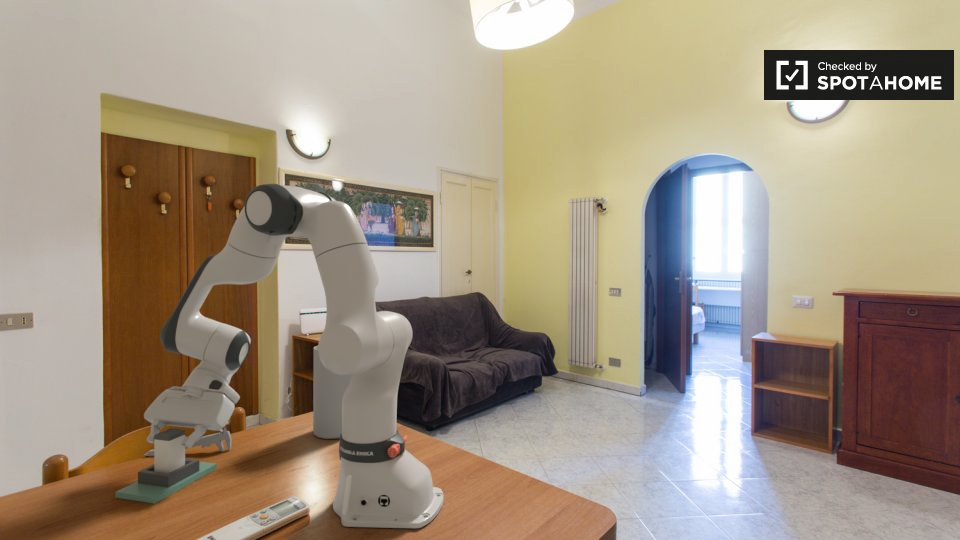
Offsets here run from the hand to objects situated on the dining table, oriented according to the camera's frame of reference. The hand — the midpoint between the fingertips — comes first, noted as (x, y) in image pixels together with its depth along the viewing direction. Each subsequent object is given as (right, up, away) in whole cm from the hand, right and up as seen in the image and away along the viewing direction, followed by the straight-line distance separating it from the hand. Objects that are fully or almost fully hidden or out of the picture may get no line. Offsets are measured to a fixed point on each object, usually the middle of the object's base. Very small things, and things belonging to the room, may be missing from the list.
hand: (167, 444), depth 100 cm
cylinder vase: (+27, -9, +31) cm, 43 cm away
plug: (0, -7, +1) cm, 8 cm away
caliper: (-6, -9, +16) cm, 19 cm away
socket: (0, -9, +1) cm, 9 cm away
